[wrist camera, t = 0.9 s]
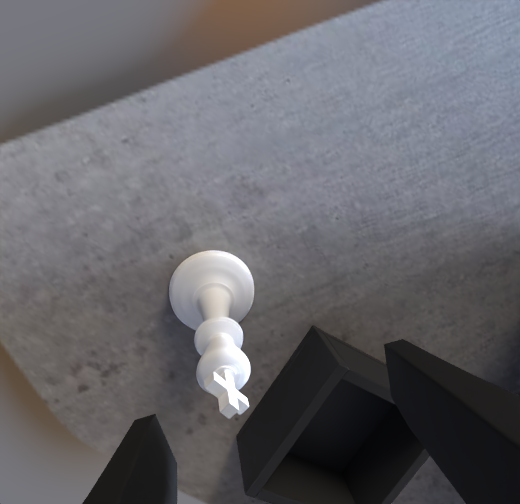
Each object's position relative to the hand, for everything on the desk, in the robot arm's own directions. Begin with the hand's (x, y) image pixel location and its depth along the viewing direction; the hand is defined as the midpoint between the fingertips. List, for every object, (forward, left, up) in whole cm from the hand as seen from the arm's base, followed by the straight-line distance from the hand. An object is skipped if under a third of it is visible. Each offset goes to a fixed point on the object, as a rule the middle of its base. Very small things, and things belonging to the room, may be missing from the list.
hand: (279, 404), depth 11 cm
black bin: (+6, -10, -11) cm, 16 cm away
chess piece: (-1, 0, -11) cm, 11 cm away
